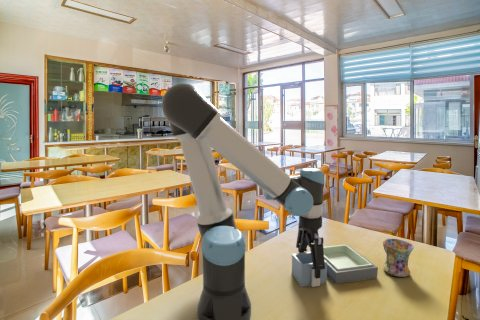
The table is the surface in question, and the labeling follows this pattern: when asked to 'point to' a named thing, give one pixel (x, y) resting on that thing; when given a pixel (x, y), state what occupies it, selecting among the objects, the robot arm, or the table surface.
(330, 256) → the top crate
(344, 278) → the bottom crate
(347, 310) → the table surface
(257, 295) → the table surface
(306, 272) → the small crate
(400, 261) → the mug
